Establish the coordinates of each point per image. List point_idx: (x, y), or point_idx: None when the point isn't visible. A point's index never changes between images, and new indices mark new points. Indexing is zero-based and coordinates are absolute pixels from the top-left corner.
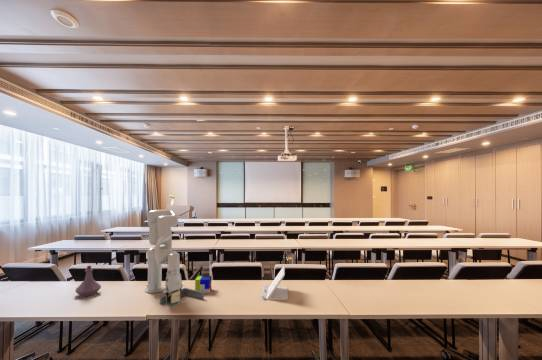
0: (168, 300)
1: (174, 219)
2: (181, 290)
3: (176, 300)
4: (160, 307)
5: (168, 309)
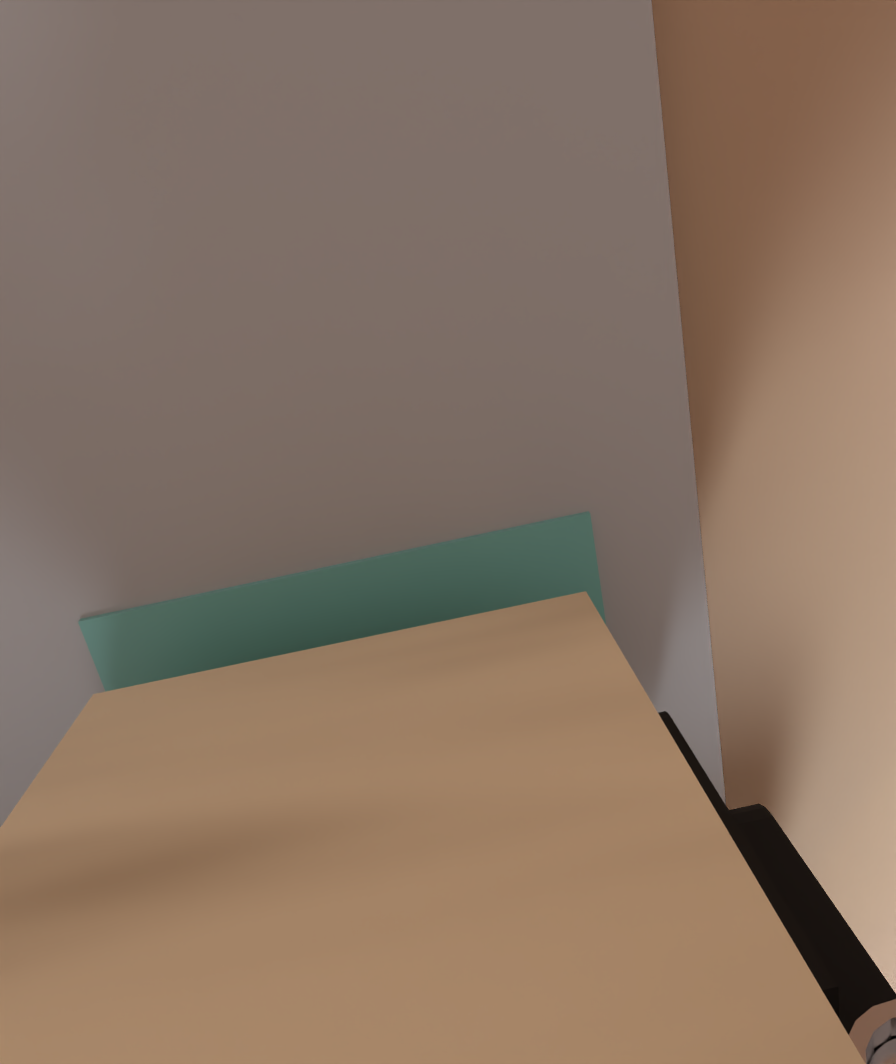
0: (763, 819)
1: None
2: None
3: (313, 681)
4: (876, 771)
5: (834, 366)
